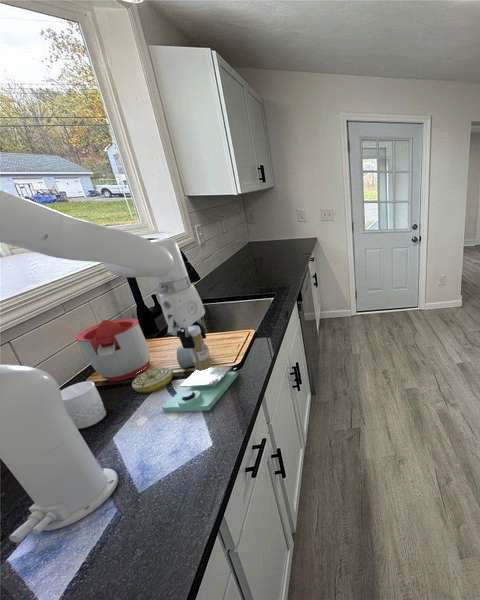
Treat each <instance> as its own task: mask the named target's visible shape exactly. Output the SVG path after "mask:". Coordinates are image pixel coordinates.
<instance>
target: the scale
mask: <svg viewBox="0 0 480 600" xmlns="http://www.w3.org/2000/svg"><path fill="white" fill-rule="evenodd" d="M237 377H238V372H237V371H229V372H228V374H227V375H226V376H225V377H224V378H223V379H222V380H221V381H220V383H219V384H218V385H217V386H198V387H181V388H180V389H179V391H178V392H176V393H175V394H174V396H173V397H171V398H170V399H169V400H168V401H167V402H166V404H164V405H163V406H162V410H163V413H173V412H174V413H175V412H177V413H179V412H203V411H204V412H206V411H210V410H211V409H212V408H213V407H214V405H215V404H216V403H217V402H218V401H219V399H220V398H221V397H222V396H223V394H224V393H225V392H226V391H227V390H228V388H229V387H230V386H231V385H232V384H233V382H234V381H235V380H236V378H237ZM188 391H193V393H194V395H195V396H194V398H192V399H190V400H187V401H185V400H184V399H183V394H184V393H186V392H188Z"/></svg>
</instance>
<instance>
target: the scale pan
mask: <svg viewBox="0 0 480 600" xmlns="http://www.w3.org/2000/svg"><path fill="white" fill-rule="evenodd" d="M232 369H233V366H214V367H213V366H211V367H210V368H208V369H206V370H204V371H197V370H196V369H195V371H194V372H192V373H191V375H189V376H188V377H187V378H186V380H184V381H183V382H182V383H181V384H180V388H183V387H198V386H217V385H218V384H219V383H220V381H221V380H222V379H223V378H224V377H225V376H226V375H227V374H228V372H231V370H232Z"/></svg>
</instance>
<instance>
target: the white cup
mask: <svg viewBox="0 0 480 600" xmlns="http://www.w3.org/2000/svg"><path fill="white" fill-rule="evenodd" d="M60 391H61V395H62V399H63V403H64V405H65V408H66V410H67V412H68V414H69V416H70V417H71V419H72V421H73V423H74V424H75V426H76V427H77V429H78V430H79V429H84V428H85V429H86V428H89V427H91V426H94V425H95V424H98V423H99V422H100V421H102V420H103V419H104V418H105V417H106V416H107V410H106V408H105V406H104V403H103V400H102V398H101V395H100V393H99V391H98V389H97V387H96V384H95V382H94V381H91V380H89V381H81V382H77V383H75V384H72V385H69V386H67V387H65V388H63V389H60Z"/></svg>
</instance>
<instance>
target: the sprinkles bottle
mask: <svg viewBox="0 0 480 600" xmlns="http://www.w3.org/2000/svg"><path fill="white" fill-rule="evenodd" d="M181 331H183V329H181ZM188 331H189V335H191V336H192V339H193V341H194V344H195V347H194V348H189V349H188V350H189V353H190V356H191V358H192V361H193V362H194V365H195V366H194V369H195V371H196V370H197V371H204V370H206V369H208V368H210V367H213V362H212V361H211V358H210V353H209V354H208V351H207V348H206V346H205V344H206V343H205V341H204V339H203V338H202V335H201V330H200V327H199V326H197V325H194V326H192V325H190V326H189V327H188ZM183 332H184V331H183Z"/></svg>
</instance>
